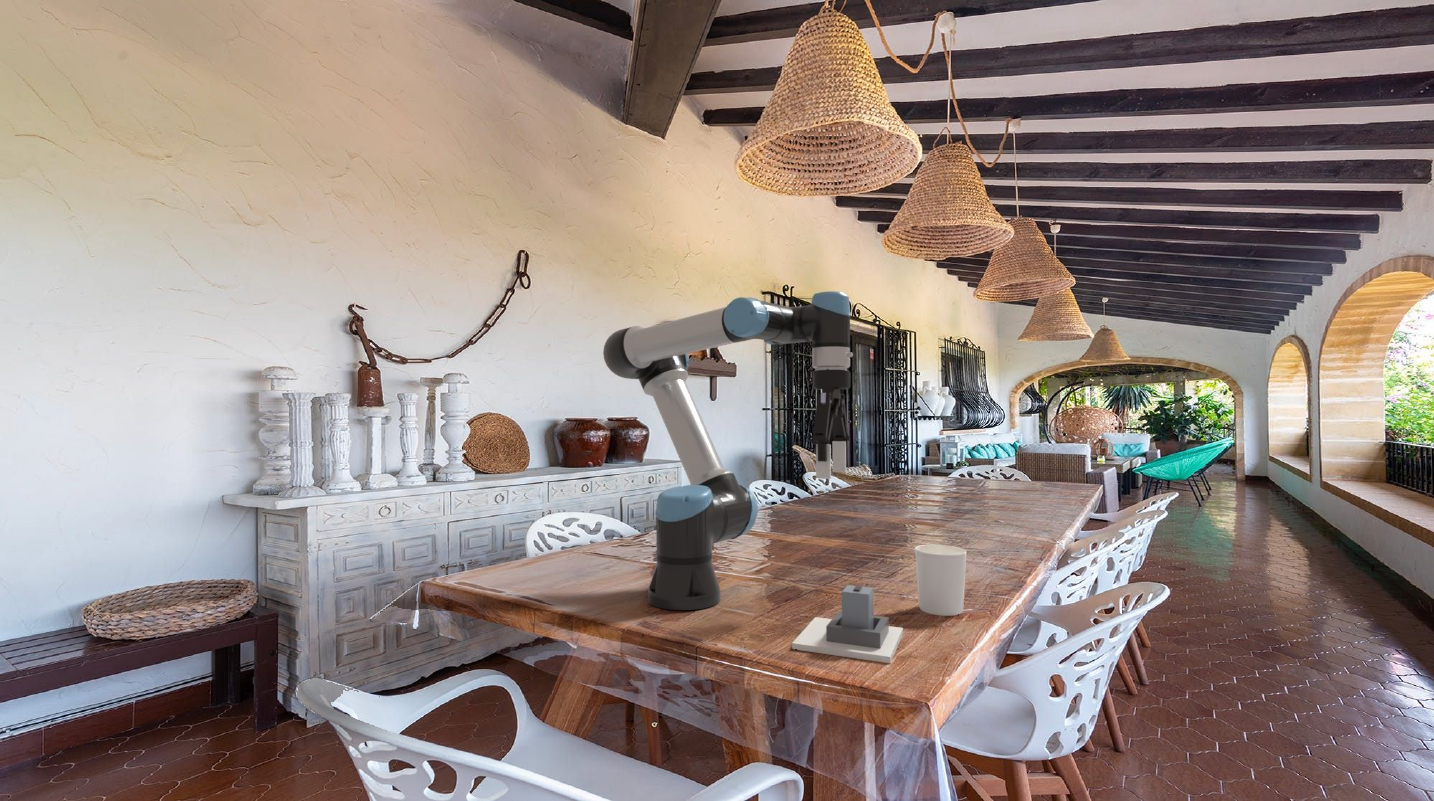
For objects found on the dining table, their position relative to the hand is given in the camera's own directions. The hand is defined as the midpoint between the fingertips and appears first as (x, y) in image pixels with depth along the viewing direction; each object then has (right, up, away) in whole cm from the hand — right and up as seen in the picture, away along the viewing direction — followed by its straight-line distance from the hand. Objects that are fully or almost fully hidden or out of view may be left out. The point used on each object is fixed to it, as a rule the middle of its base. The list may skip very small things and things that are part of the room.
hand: (831, 475), depth 133 cm
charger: (+1, -25, -19) cm, 32 cm away
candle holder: (+22, -27, -1) cm, 34 cm away
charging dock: (0, -26, -19) cm, 32 cm away
